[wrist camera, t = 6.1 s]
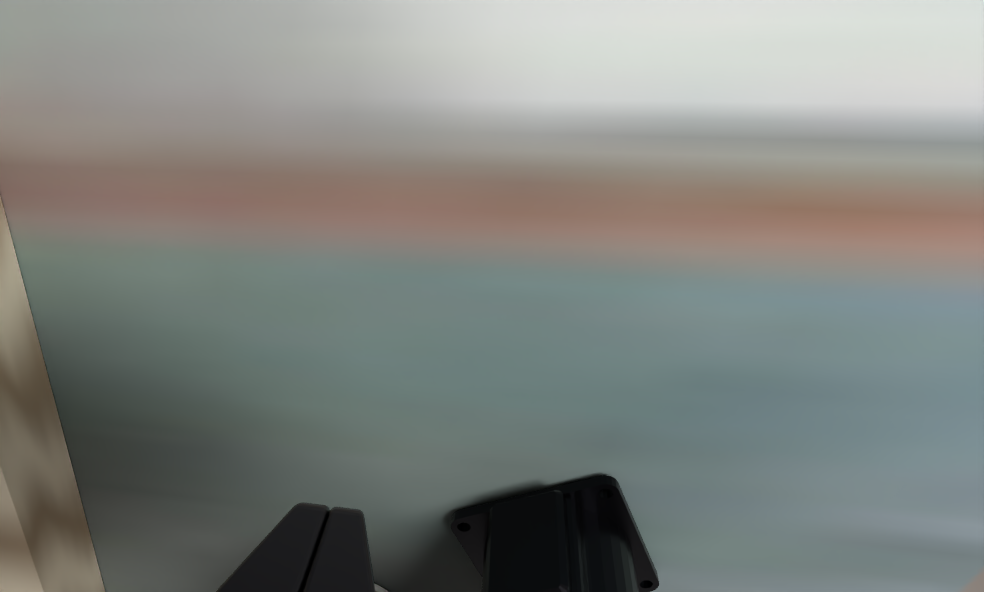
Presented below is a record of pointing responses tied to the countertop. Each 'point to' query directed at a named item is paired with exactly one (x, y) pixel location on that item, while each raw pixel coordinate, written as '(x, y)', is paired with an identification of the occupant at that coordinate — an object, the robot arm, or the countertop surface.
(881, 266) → the countertop surface
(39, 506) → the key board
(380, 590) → the coffee cup
